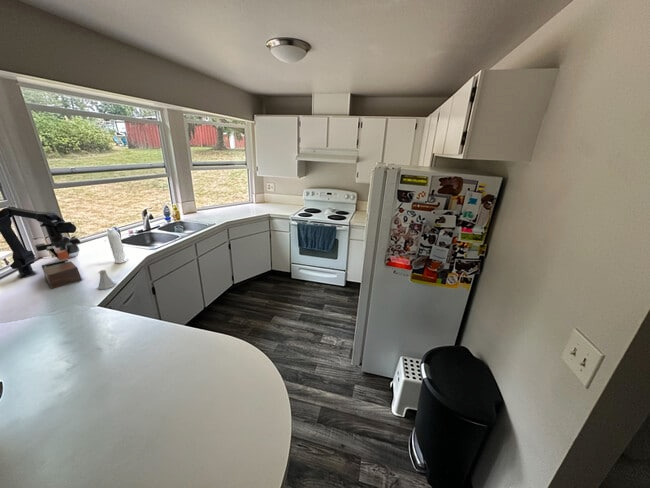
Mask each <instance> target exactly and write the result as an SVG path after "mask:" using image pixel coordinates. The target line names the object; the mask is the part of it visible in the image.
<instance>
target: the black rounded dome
mask: <svg viewBox="0 0 650 488" xmlns="http://www.w3.org/2000/svg"><path fill="white" fill-rule="evenodd" d="M63 238H69V239H70V238H76V236H75V235H73V236H72V237H70V236H63ZM62 250H66V247H60V248H58V251H62ZM80 250H81V249H80V247H79V246H78V244H73V246H71V248H70V252H69V258H74V257H77V256H78V255H79V254H80Z"/></svg>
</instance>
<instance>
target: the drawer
mask: <svg viewBox="0 0 650 488" xmlns="http://www.w3.org/2000/svg"><path fill="white" fill-rule="evenodd" d="M66 262H69V261H68V259H63V260H59V261H58V260H57V261H54V262H49V263H46V264H42V265H41V269H42V268H44V267H49V266H53V265H57V264H61V263H66Z"/></svg>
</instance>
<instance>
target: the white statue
mask: <svg viewBox="0 0 650 488" xmlns="http://www.w3.org/2000/svg"><path fill="white" fill-rule="evenodd" d="M107 231H108V233H107V235H106V236H107V239H108V243H109V247H110V250H111V253H112V256H113V259H114V260H113V261H114V263H115V264H121V263H125V262H127V257H126V252H125V250H124V245H123V244H122V243H123V242H122V238H121V235H120V233H119V231H117V230H116V229H115V228H114V227H109V229H108V230H107Z"/></svg>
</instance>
